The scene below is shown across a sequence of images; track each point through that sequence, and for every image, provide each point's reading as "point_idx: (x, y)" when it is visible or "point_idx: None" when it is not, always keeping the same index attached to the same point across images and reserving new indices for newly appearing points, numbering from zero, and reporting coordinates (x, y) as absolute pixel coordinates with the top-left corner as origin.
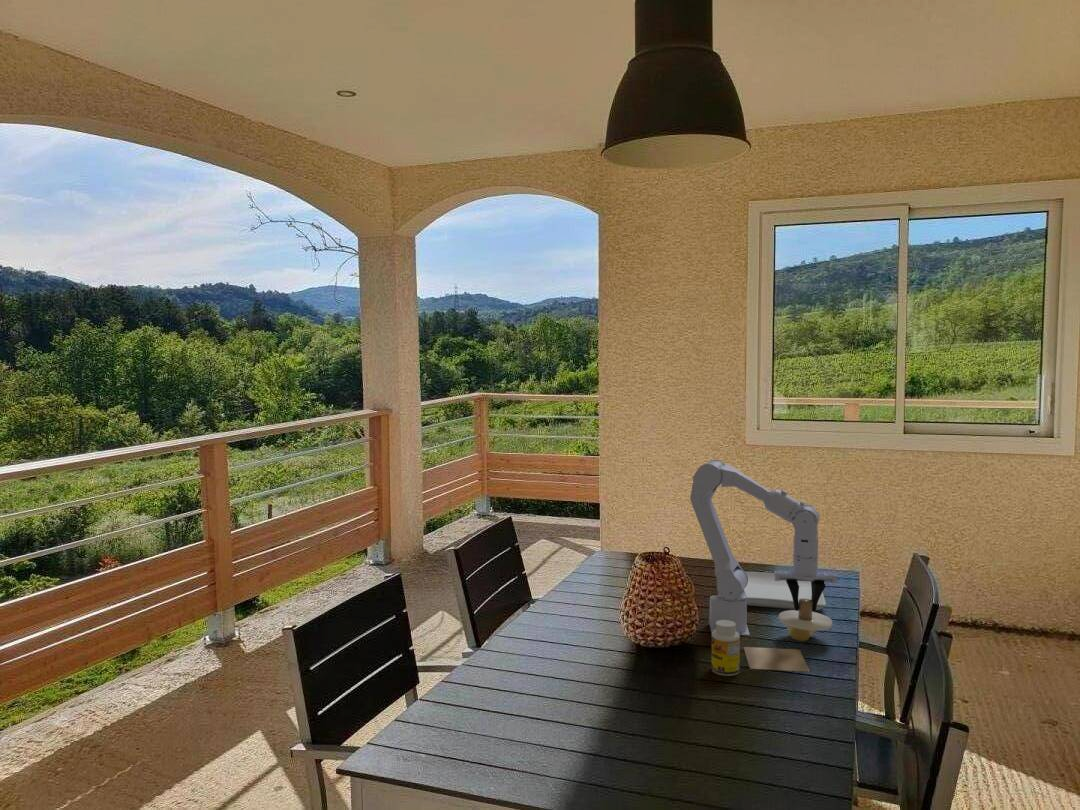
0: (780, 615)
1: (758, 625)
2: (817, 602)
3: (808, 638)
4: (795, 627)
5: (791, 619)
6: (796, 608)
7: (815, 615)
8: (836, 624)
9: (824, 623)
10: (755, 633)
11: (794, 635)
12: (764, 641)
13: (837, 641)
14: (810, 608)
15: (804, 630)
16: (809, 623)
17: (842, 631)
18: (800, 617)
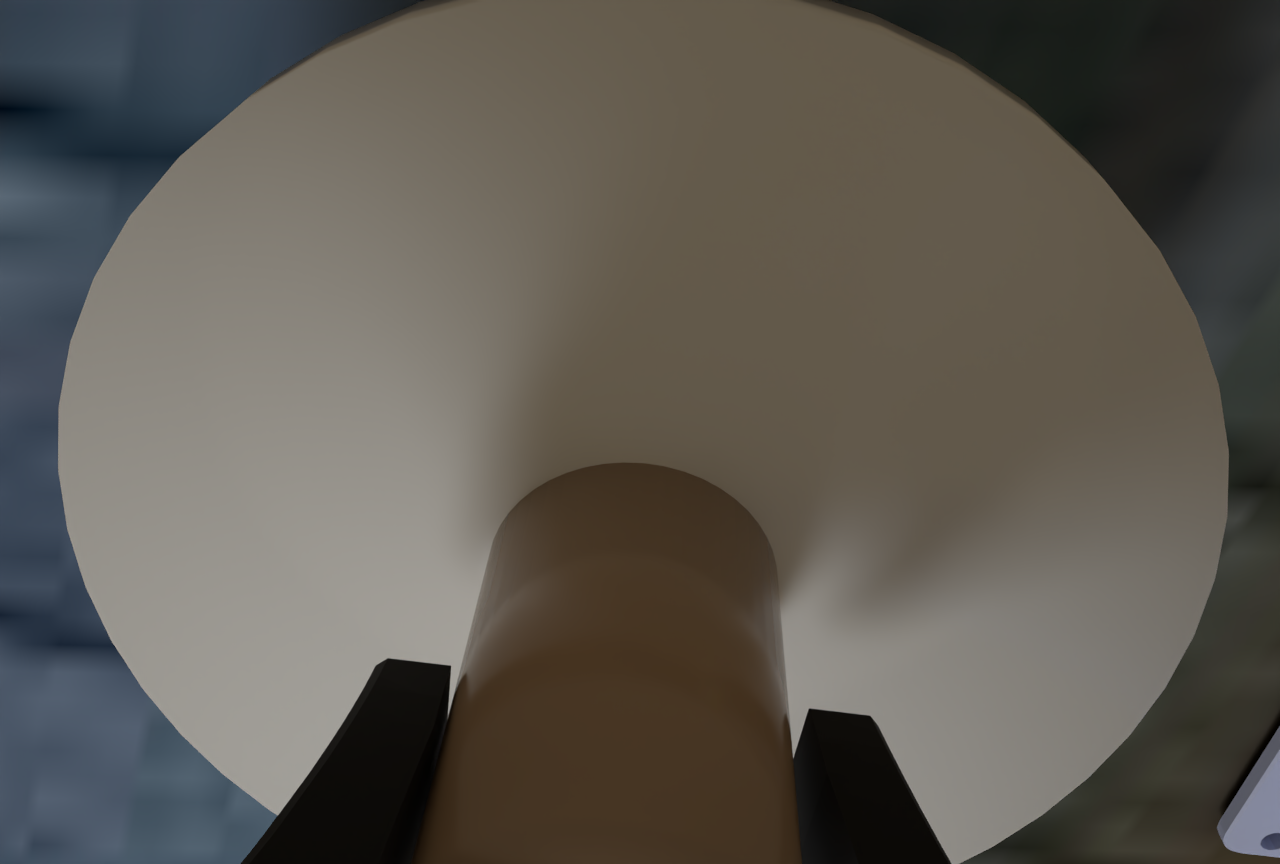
0: (1106, 716)
1: (1033, 841)
2: (265, 838)
3: None
4: (1063, 139)
5: (983, 520)
6: (877, 749)
7: None
8: (66, 838)
9: (261, 295)
10: (1224, 635)
11: None
12: (1275, 367)
13: None
14: (526, 680)
15: None
16: (645, 288)
17: (13, 663)
18: (766, 560)
